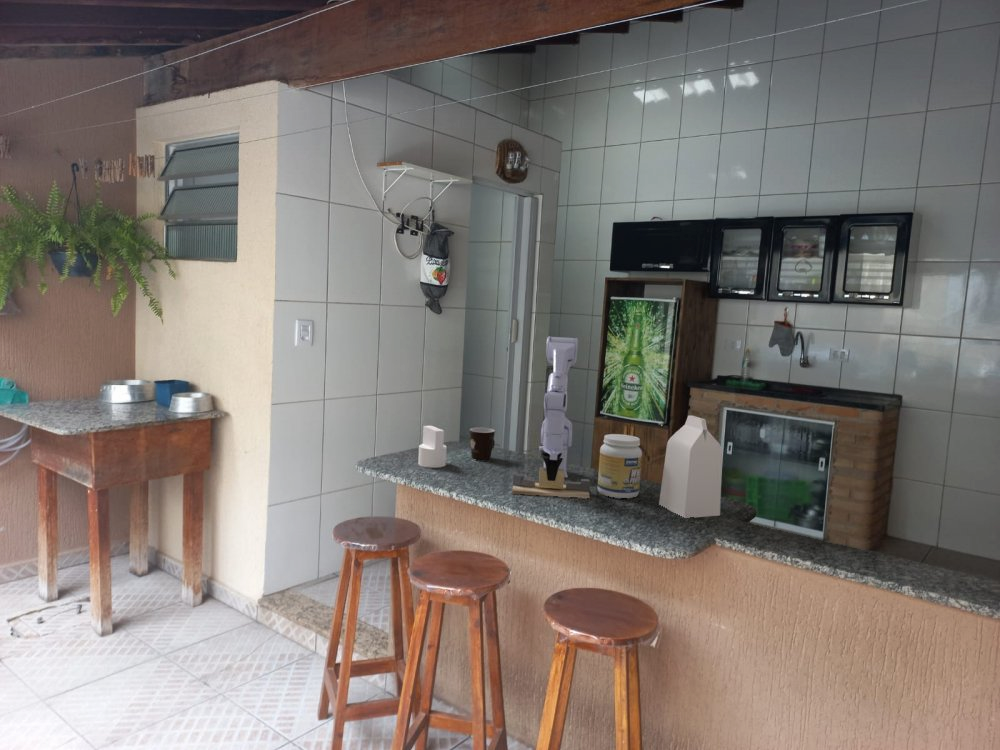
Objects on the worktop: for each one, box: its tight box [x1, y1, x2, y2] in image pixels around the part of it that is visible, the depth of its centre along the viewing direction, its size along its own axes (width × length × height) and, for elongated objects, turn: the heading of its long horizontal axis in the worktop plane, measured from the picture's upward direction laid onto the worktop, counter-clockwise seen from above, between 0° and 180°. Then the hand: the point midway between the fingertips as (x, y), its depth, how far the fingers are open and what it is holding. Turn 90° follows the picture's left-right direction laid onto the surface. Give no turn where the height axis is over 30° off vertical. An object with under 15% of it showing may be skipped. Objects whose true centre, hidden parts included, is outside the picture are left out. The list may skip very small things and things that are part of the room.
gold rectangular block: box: [538, 466, 565, 489], centre depth 203 cm, size 4×7×5 cm, turn 88°
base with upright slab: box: [418, 425, 448, 469], centre depth 227 cm, size 9×9×12 cm
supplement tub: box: [597, 433, 643, 499], centre depth 203 cm, size 12×12×17 cm
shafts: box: [512, 473, 591, 493], centre depth 204 cm, size 4×22×3 cm, turn 88°
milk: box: [658, 415, 723, 519], centre depth 190 cm, size 12×12×26 cm
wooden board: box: [512, 482, 591, 499], centre depth 203 cm, size 10×22×1 cm, turn 88°
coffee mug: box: [469, 427, 496, 461], centre depth 237 cm, size 12×9×10 cm
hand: (551, 478), depth 203 cm, fingers closed on gold rectangular block, 4 cm apart
